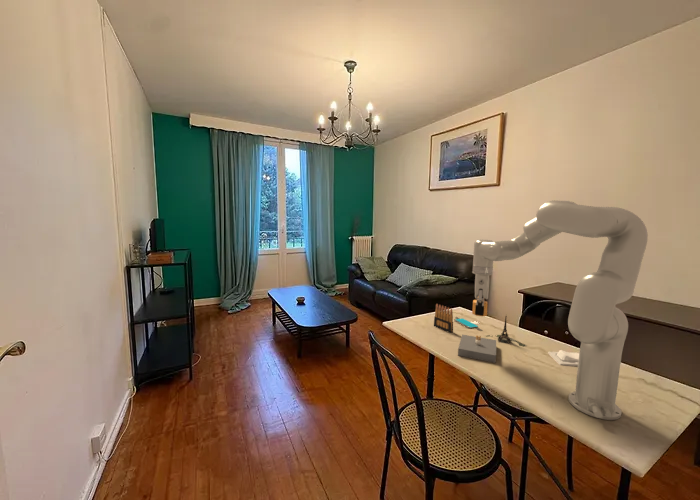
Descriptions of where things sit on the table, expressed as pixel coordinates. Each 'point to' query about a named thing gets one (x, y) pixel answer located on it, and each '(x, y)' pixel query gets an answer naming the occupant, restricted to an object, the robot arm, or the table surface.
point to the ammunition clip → (443, 318)
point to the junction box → (477, 348)
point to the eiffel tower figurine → (506, 337)
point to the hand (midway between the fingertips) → (479, 312)
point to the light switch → (565, 358)
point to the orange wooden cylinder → (484, 307)
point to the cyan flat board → (466, 323)
